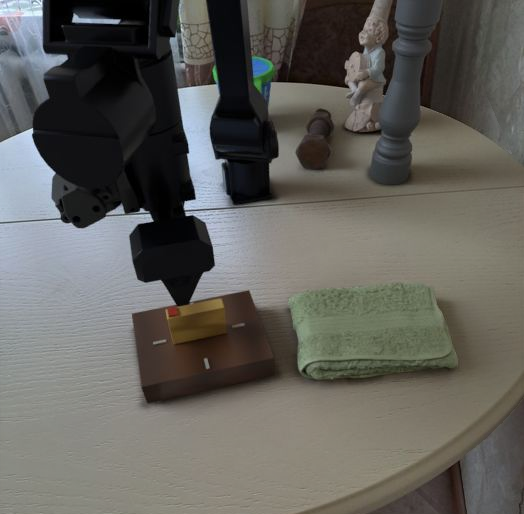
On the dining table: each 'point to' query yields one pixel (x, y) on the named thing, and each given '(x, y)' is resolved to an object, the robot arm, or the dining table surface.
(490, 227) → the dining table surface
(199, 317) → the lock knob
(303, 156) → the bolt
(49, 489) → the dining table surface
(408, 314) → the washcloth
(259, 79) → the snack cup
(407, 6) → the candle holder
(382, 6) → the figurine
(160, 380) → the panel
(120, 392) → the dining table surface
